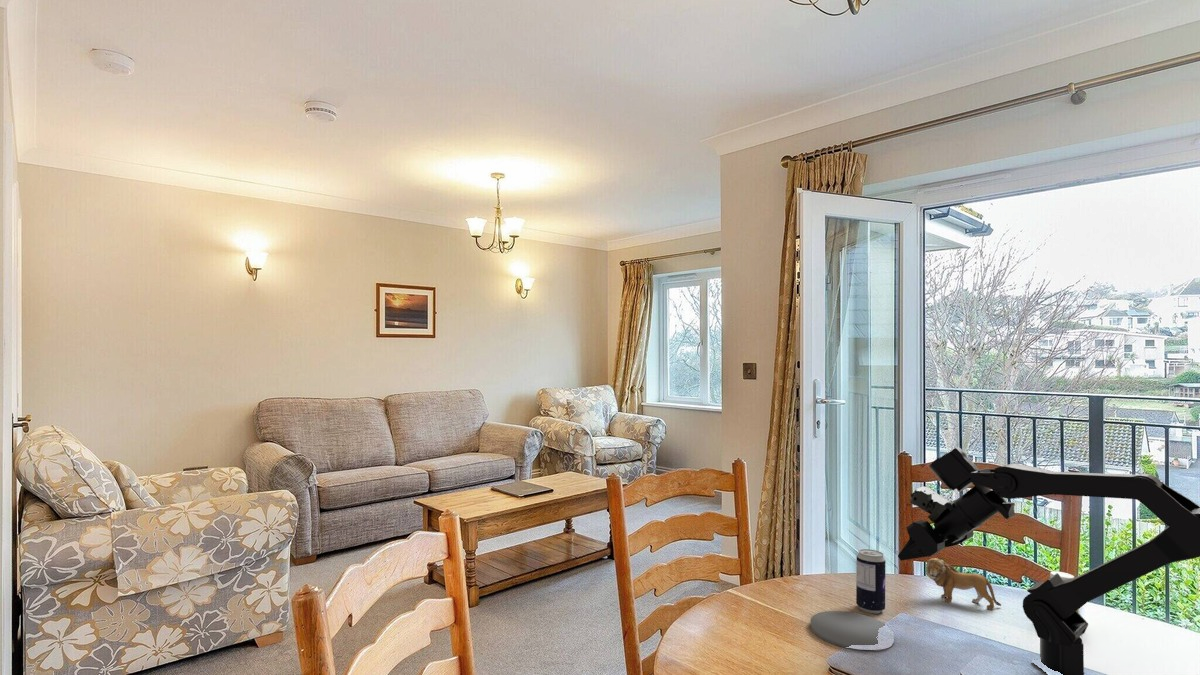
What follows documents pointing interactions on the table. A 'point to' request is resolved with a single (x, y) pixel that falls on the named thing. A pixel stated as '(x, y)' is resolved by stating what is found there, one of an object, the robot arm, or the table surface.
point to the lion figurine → (959, 581)
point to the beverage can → (870, 581)
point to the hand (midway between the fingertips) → (909, 554)
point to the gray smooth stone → (846, 628)
